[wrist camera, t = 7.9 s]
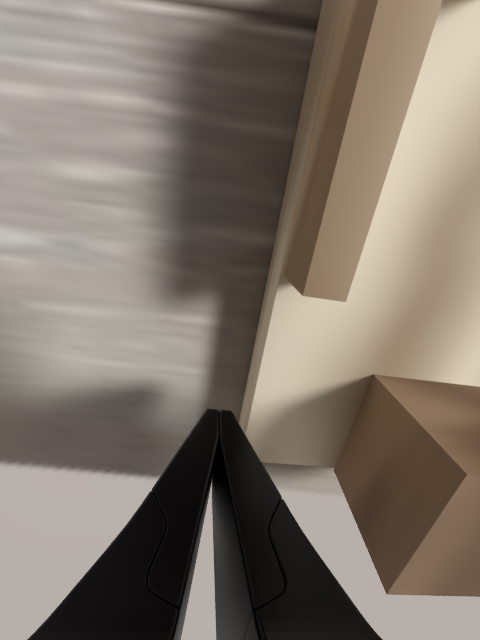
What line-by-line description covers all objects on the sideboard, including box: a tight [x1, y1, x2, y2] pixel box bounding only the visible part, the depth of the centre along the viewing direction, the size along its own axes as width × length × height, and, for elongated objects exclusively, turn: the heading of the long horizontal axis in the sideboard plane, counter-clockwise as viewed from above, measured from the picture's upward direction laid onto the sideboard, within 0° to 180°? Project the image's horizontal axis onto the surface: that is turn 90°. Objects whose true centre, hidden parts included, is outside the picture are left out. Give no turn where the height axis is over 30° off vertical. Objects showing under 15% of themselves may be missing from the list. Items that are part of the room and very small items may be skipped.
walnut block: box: [334, 374, 480, 597], centre depth 9 cm, size 5×5×4 cm
